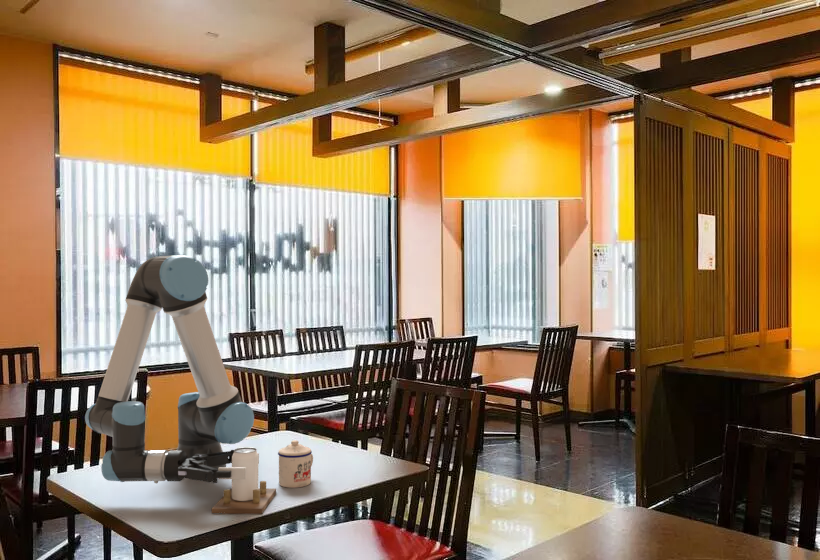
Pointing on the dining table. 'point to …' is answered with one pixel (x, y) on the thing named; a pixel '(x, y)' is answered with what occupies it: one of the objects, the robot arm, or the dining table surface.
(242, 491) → the can
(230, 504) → the pin tray
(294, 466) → the teacup with lid
